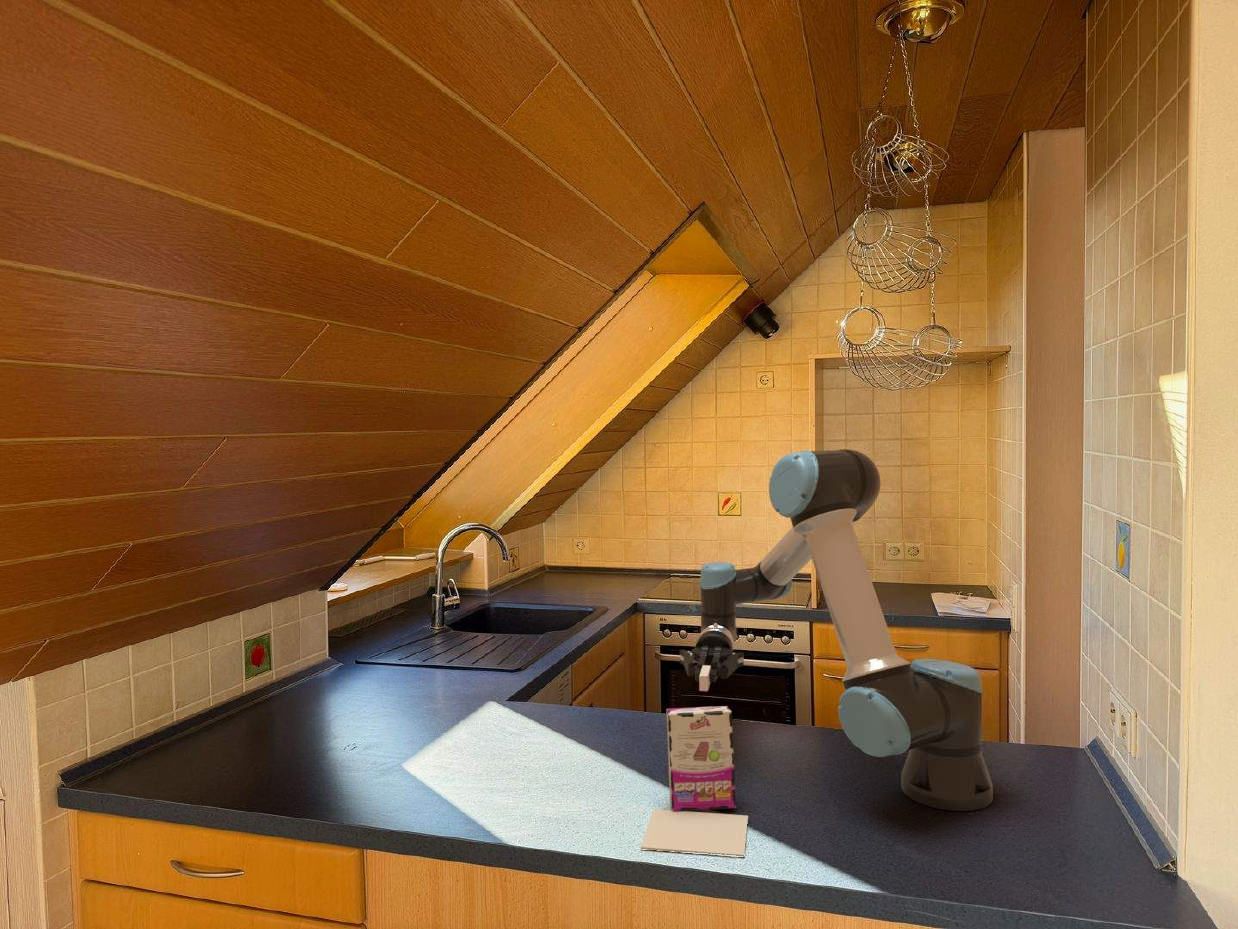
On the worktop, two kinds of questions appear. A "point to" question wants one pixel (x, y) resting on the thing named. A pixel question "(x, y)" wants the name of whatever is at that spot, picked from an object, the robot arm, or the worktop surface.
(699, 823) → the mat
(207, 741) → the worktop surface
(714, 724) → the candy bar box
